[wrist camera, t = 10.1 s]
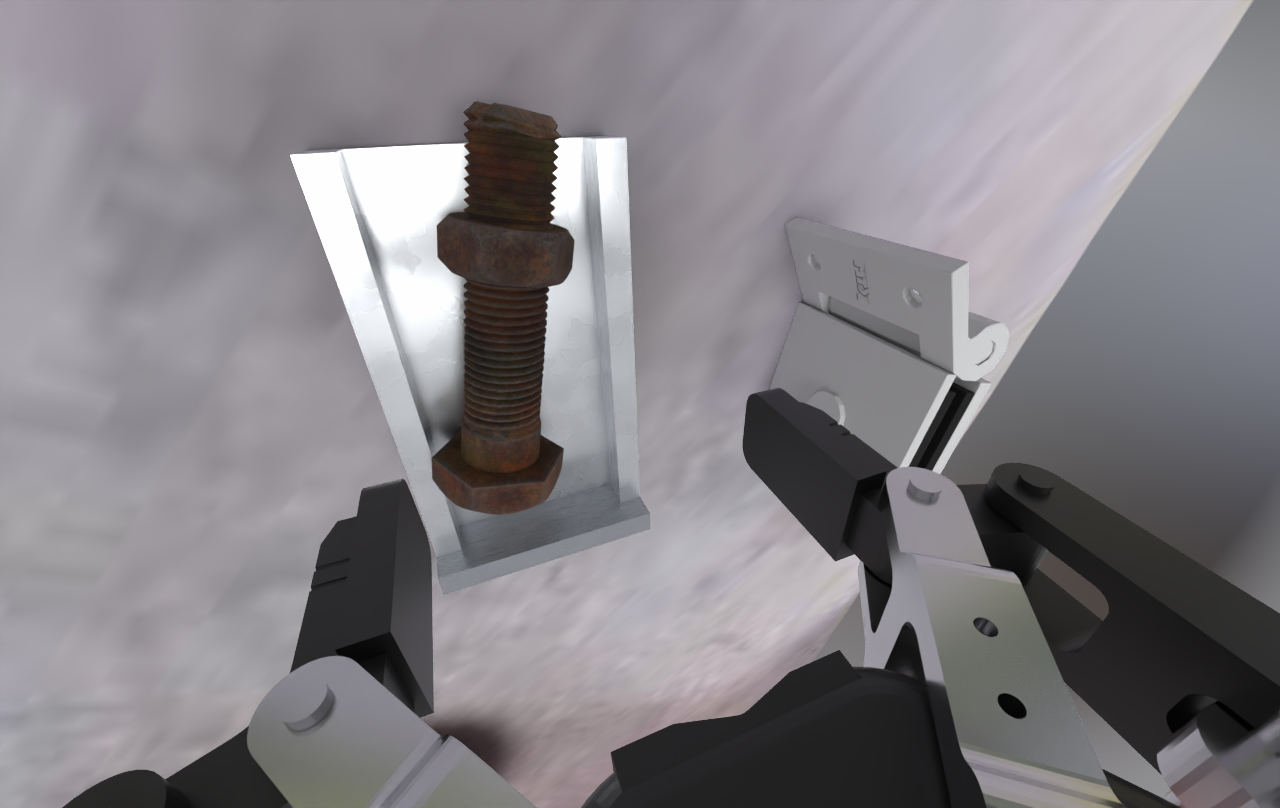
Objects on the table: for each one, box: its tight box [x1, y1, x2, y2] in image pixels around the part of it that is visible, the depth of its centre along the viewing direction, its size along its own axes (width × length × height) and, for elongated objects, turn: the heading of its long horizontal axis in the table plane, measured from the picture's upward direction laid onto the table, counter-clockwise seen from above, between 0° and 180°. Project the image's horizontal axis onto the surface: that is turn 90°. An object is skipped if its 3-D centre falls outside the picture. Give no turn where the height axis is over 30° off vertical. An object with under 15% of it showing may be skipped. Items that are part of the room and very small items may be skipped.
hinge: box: [769, 217, 1010, 474], centre depth 26 cm, size 14×5×10 cm, turn 1°
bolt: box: [431, 102, 575, 515], centre depth 19 cm, size 6×5×15 cm
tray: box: [290, 135, 650, 595], centre depth 22 cm, size 11×19×4 cm, turn 2°
